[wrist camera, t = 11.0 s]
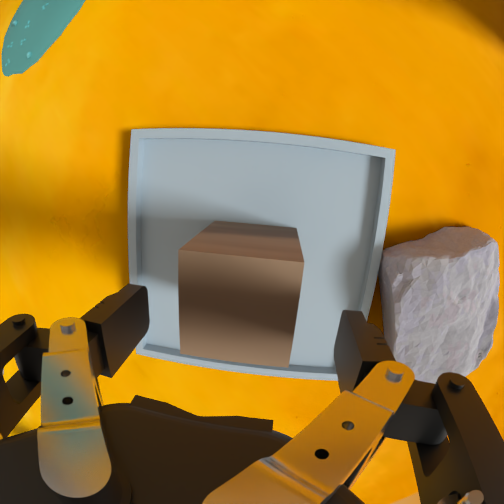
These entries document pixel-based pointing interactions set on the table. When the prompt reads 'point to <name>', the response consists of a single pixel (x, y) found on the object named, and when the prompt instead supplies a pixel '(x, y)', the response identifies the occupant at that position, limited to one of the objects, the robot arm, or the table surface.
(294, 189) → the dish
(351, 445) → the robot arm
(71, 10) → the diorama
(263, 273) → the walnut block
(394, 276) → the stone block
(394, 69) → the table surface
